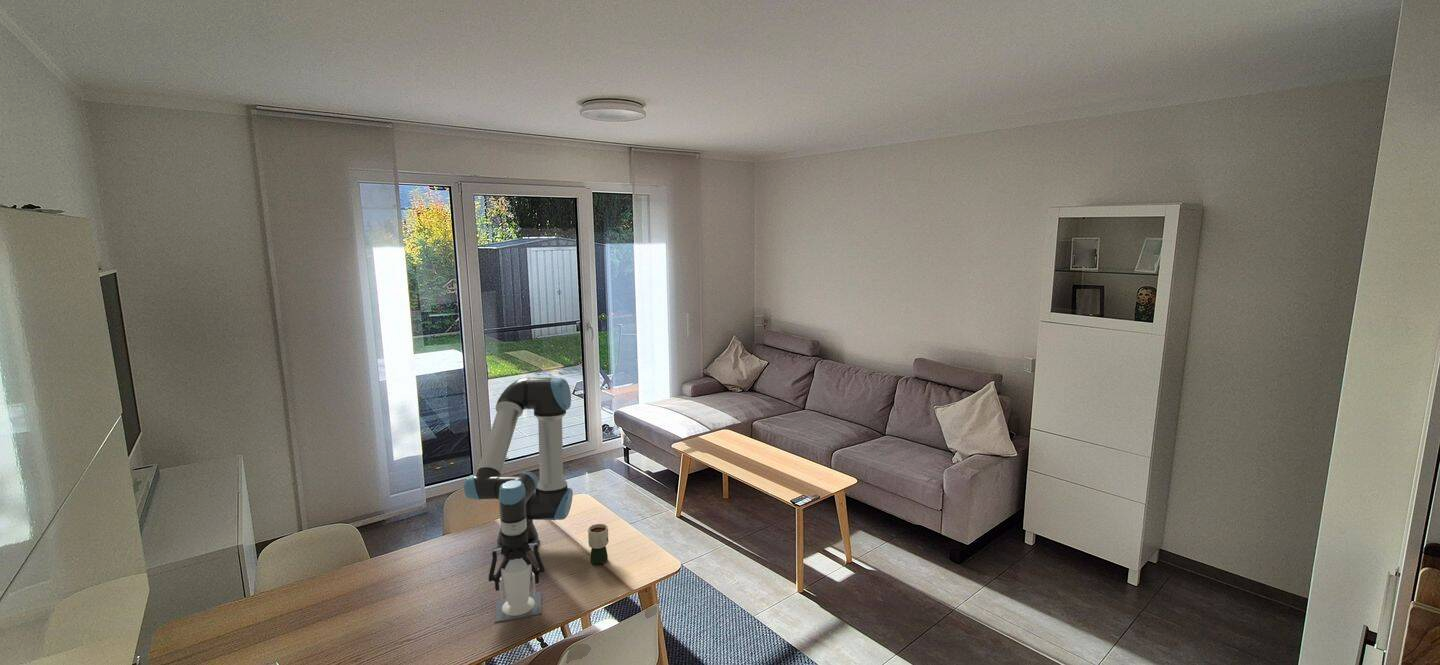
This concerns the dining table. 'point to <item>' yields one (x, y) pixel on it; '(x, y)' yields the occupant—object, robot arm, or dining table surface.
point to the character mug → (598, 543)
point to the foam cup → (517, 582)
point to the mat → (518, 608)
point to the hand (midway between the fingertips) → (518, 595)
